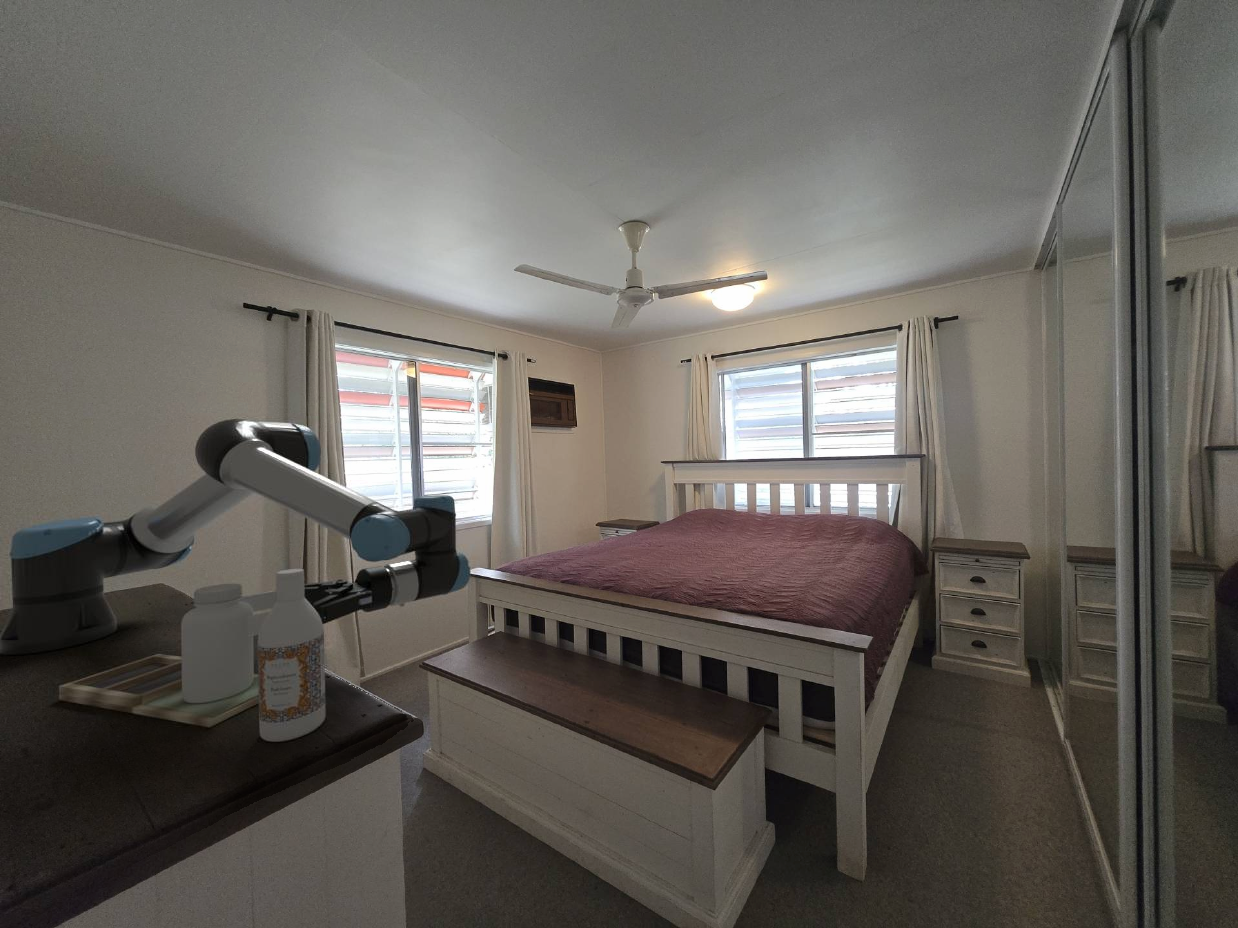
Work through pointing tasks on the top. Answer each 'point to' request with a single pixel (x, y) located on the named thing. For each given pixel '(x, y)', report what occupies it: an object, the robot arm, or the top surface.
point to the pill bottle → (216, 645)
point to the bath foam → (291, 663)
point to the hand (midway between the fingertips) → (235, 616)
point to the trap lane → (154, 692)
